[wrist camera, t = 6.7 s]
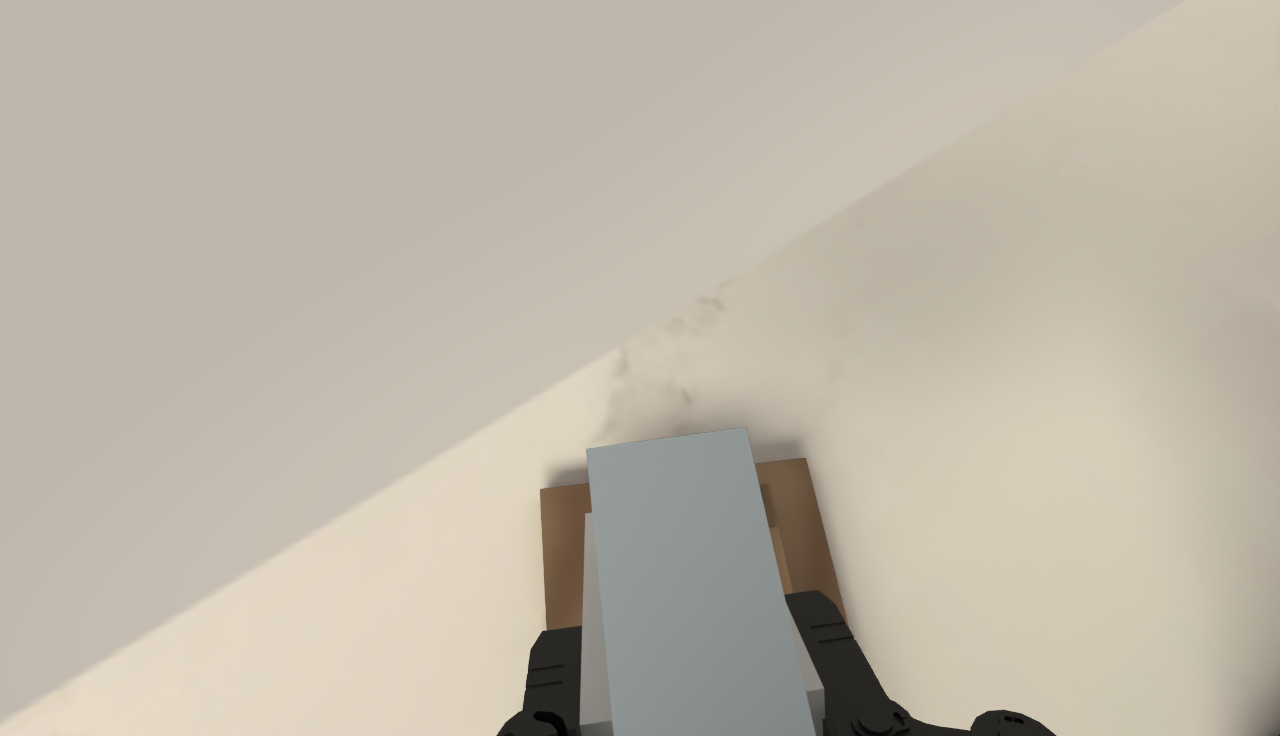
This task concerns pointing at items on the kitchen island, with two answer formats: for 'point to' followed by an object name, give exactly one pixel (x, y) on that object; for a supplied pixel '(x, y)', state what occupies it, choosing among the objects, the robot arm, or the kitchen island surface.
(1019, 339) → the kitchen island surface
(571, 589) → the track board
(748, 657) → the door panel
